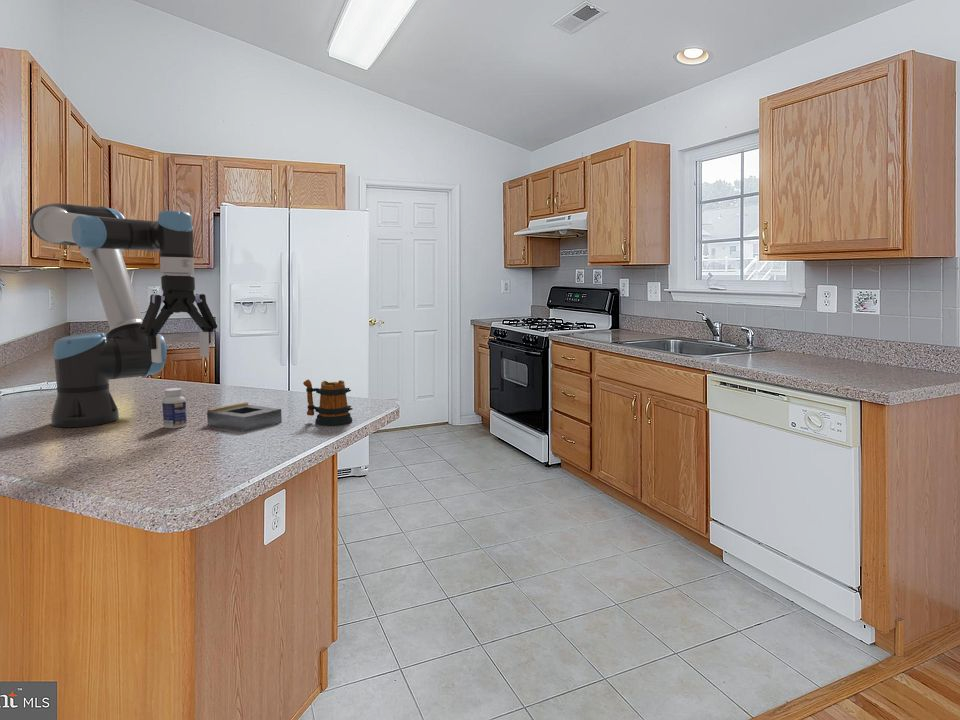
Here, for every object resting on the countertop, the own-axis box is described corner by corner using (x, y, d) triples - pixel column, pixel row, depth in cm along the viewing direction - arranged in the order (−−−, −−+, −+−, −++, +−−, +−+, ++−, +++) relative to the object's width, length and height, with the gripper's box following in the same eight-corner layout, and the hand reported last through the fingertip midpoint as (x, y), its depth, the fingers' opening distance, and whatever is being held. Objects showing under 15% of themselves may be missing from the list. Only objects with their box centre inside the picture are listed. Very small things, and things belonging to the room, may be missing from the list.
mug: (357, 418, 169) (356, 376, 167) (348, 426, 159) (347, 382, 157) (310, 418, 169) (308, 376, 168) (298, 426, 159) (296, 382, 158)
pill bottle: (177, 429, 156) (175, 391, 154) (159, 428, 157) (156, 390, 155) (191, 424, 161) (189, 387, 160) (173, 423, 162) (171, 387, 161)
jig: (207, 425, 160) (206, 409, 160) (245, 416, 171) (244, 402, 170) (244, 431, 153) (244, 415, 153) (281, 421, 164) (281, 406, 163)
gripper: (139, 274, 141) (144, 366, 143) (229, 275, 162) (232, 355, 165) (119, 274, 144) (124, 363, 147) (210, 275, 166) (213, 353, 169)
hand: (181, 359), depth 156 cm, fingers open, 13 cm apart
